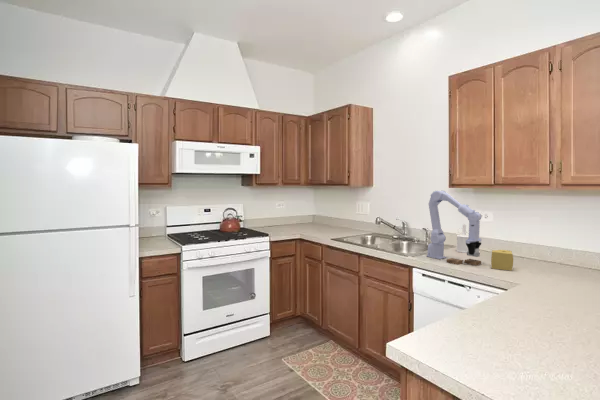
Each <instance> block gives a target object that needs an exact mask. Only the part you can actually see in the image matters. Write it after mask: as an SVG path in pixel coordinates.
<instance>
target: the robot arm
mask: <svg viewBox="0 0 600 400" xmlns="http://www.w3.org/2000/svg"><path fill="white" fill-rule="evenodd" d="M443 201H444V202H448V203H449V204H451V205H453V207H456V208H457V211H458V212H459V213H460V214H462V216H464V217H466V218H467V220H468V221H469V223H468V233H469V234H468V235H469V239H467V240H466V245H467V247H468V250H469V254H470V255H473V254H474V249H475V248H479V249H480V247H481V246H482V238H480V226H481V225H480V224H481V222H480V221H481V219H482V214H481V213H480V212H478V211H476V210H475V209H472V208H471V207H470V205H468V204H465V203H463V204H462V203H461V202H459V201H458V200H457V199H456V198H454V197H453V196H452V195H451V194H450V193H448V192H447V191H445V190H435V191H433V192H432V193H430V198H429V200H428V209H429V215H430V222H431V229H432V230H431V233H430V234H431V235H430V243H428V246H427V257H428V258H432V259H437V260H441V259H447V256H445V252H444V251H445V250H444V249H445V245H444V244H445V242H446V235H445V233H444V230H442V229H443V228H442V225H441V219H440V213H439V208H438V206H439V205H440V203H442V202H443Z"/></svg>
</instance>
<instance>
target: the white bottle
mask: <svg viewBox="0 0 600 400" xmlns="http://www.w3.org/2000/svg"><path fill="white" fill-rule="evenodd" d="M460 229H462V232H459V230H460ZM466 229H467V225H466V224H465V223H463V224H462V227H459V228H458V229H457V233H459V234H457V235H456V249H455V251H456V252H457V253H461V252H462V253H463V254H467V252H468V247H467V245H466V240H467V239H469V232H467V230H466Z"/></svg>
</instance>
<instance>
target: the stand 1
mask: <svg viewBox="0 0 600 400" xmlns="http://www.w3.org/2000/svg"><path fill="white" fill-rule="evenodd" d="M445 263H448V264H452V265H456V266H458V265H463V263H464V260H463V259H459V258H454V257H451V258H446V261H445Z"/></svg>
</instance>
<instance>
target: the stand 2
mask: <svg viewBox="0 0 600 400" xmlns="http://www.w3.org/2000/svg"><path fill="white" fill-rule="evenodd" d="M464 264H466V265H471V266H479V265H482V260H479V259H474V258H467V259H464Z"/></svg>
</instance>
